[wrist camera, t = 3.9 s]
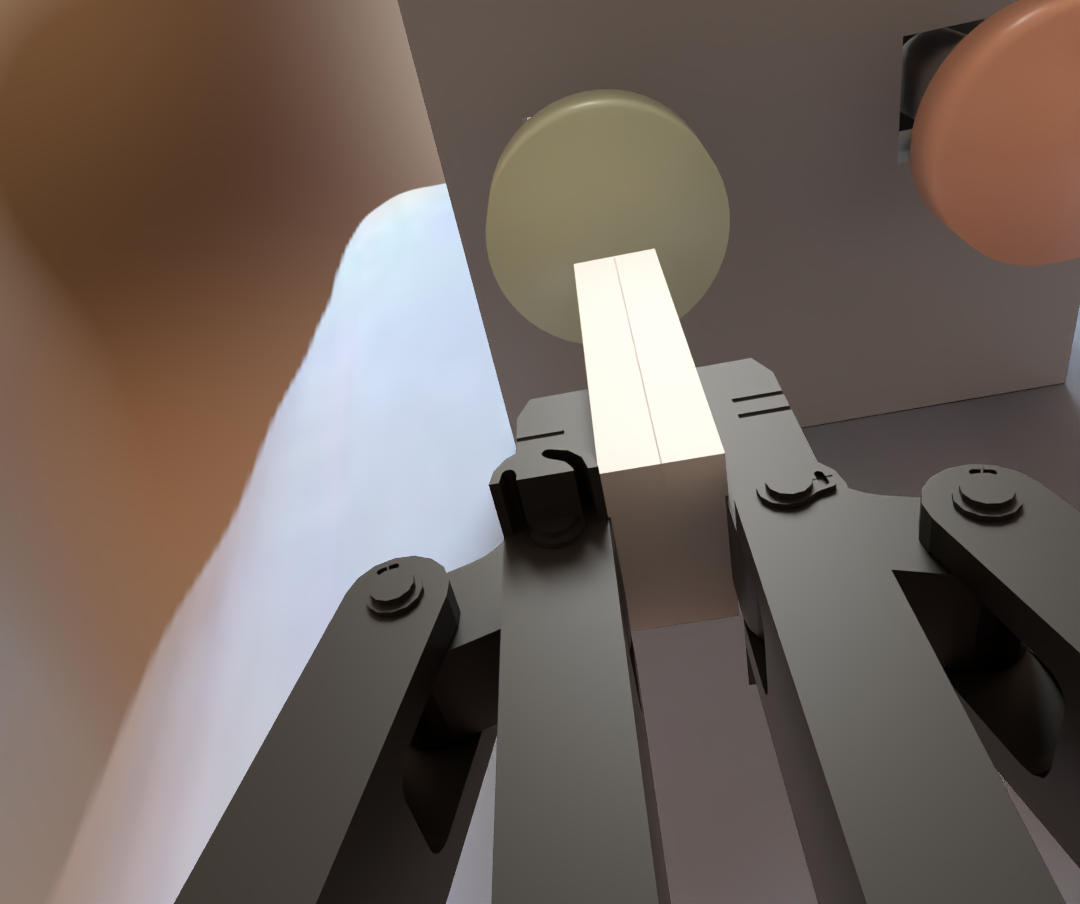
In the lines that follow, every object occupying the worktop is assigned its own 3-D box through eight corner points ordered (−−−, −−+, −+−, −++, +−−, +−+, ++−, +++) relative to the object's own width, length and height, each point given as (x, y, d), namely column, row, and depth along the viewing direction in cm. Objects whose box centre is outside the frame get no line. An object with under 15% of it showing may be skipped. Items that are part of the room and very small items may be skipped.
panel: (523, 432, 34) (374, -151, 23) (1024, 344, 32) (1125, -343, 21) (523, 474, 32) (356, -154, 21) (1064, 382, 30) (1204, -372, 19)
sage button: (518, 248, 29) (477, 68, 26) (686, 214, 29) (667, 26, 25) (514, 363, 22) (458, 138, 19) (737, 322, 22) (719, 81, 18)
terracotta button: (833, 185, 28) (832, -11, 25) (1015, 148, 28) (1041, -58, 24) (933, 286, 21) (952, 31, 18) (1180, 240, 21) (1249, -33, 17)
